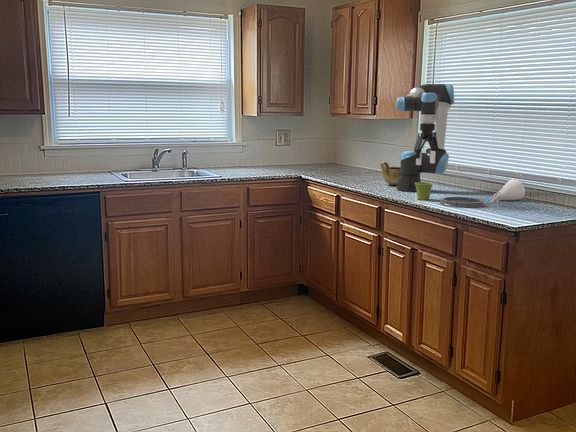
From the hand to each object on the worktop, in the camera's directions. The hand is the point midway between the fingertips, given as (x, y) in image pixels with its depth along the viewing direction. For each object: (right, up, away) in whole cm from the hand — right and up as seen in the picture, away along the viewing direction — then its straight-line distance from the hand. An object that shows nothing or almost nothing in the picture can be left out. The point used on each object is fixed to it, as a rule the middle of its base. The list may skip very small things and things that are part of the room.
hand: (425, 164), depth 310 cm
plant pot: (-1, -19, +4) cm, 19 cm away
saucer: (+16, -21, -11) cm, 29 cm away
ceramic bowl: (-5, -8, +59) cm, 60 cm away
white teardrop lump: (+42, -19, +3) cm, 46 cm away
